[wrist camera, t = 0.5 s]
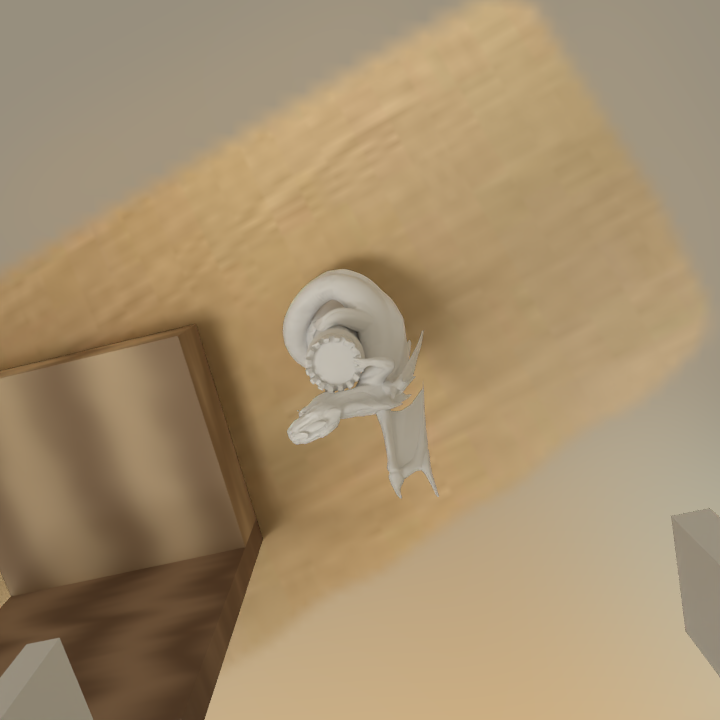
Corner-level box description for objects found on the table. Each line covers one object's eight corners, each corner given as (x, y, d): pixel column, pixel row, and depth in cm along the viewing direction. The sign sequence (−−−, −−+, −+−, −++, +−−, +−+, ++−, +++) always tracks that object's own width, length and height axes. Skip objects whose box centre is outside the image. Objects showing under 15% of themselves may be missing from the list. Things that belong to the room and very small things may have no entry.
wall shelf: (49, 584, 41) (-147, 814, 25) (-35, 379, 37) (-323, 500, 22) (262, 539, 40) (193, 751, 24) (195, 324, 36) (65, 409, 21)
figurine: (262, 309, 36) (211, 358, 24) (371, 239, 35) (372, 255, 23) (358, 453, 38) (353, 560, 27) (464, 391, 37) (508, 475, 25)
